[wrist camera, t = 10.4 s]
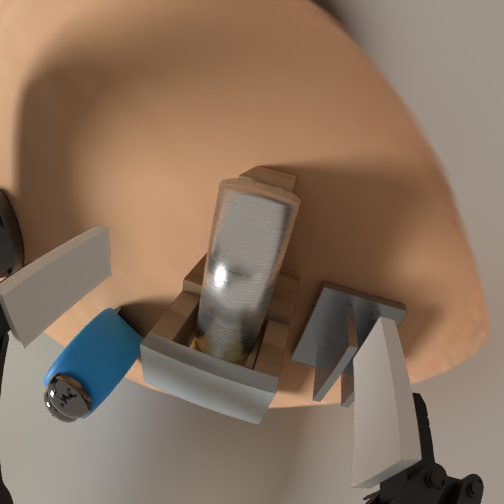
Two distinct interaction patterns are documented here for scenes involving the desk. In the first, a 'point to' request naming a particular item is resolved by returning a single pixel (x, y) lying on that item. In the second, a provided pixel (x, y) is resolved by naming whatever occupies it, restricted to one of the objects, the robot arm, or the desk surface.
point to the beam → (213, 369)
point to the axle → (242, 264)
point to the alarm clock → (91, 366)
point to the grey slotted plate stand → (340, 335)
